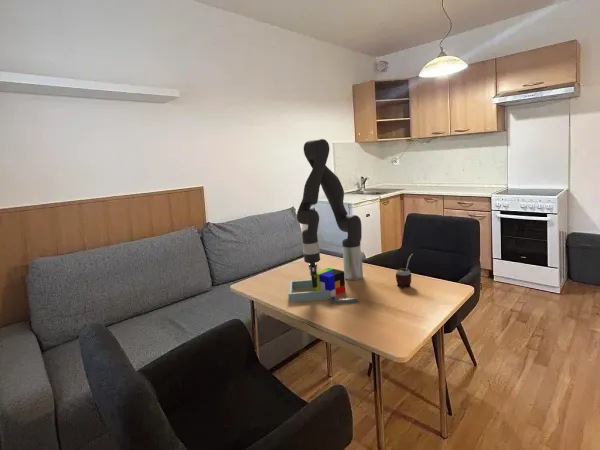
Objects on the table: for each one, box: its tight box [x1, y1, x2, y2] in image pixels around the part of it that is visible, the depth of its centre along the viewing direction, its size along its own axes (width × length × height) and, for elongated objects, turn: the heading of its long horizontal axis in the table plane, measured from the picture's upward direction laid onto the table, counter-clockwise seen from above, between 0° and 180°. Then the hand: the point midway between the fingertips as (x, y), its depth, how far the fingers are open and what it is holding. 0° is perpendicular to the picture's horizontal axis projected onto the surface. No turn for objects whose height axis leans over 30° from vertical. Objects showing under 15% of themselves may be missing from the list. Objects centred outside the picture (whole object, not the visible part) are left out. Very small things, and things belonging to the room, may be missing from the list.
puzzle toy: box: [314, 267, 346, 299], centre depth 180 cm, size 10×10×10 cm
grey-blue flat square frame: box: [288, 279, 330, 303], centre depth 181 cm, size 18×17×4 cm
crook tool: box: [330, 296, 360, 305], centre depth 169 cm, size 12×4×2 cm, turn 86°
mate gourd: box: [395, 253, 414, 289], centre depth 179 cm, size 8×8×15 cm
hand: (314, 284), depth 181 cm, fingers open, 8 cm apart
